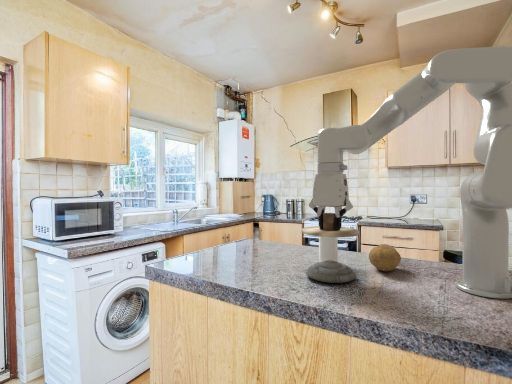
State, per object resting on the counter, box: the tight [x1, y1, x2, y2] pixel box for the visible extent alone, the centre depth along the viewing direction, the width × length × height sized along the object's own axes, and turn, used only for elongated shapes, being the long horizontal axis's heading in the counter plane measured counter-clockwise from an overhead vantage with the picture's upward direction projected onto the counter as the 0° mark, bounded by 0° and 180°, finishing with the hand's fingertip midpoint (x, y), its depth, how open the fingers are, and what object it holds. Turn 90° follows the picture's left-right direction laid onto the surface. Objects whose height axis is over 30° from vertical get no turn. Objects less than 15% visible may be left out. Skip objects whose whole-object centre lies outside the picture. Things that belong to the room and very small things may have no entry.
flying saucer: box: [305, 260, 357, 284], centre depth 88 cm, size 15×15×6 cm
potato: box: [368, 243, 402, 272], centre depth 96 cm, size 10×14×8 cm
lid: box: [301, 212, 360, 238], centre depth 88 cm, size 17×17×6 cm
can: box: [318, 236, 339, 262], centre depth 104 cm, size 6×6×12 cm
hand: (329, 229), depth 88 cm, fingers closed on lid, 4 cm apart
